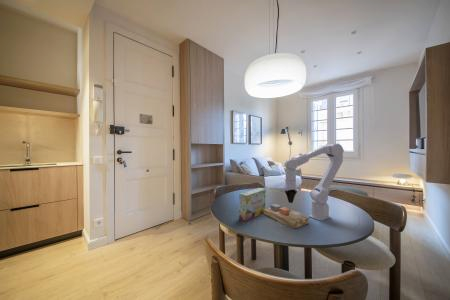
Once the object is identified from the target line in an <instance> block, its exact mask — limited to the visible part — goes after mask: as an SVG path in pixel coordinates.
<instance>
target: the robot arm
mask: <svg viewBox="0 0 450 300" xmlns="http://www.w3.org/2000/svg"><path fill="white" fill-rule="evenodd" d="M344 152H345V150H344V148H343V146H342V145H341V144H340V143H326V144H325V145H321V146H319V147H317V148H315V149H314V150H312V151H309V152H307V153H304V152H302V153H298V155H296V156H292V157H291V158H288V159H286V160H285V163H284V165H283V166H285V167H284V168H285V185H284V186H283V187H281V188H280V192H282V193H285V195H286V198H287V201H288V203H290V204H293V203H294V199H295V197H296V195H297V193H298V190H301V185H297V168H298V167H301V166H302V165H304V164H306V163H309V162H310V161H309V160H310V159H313V158H315V157H317V156H320V155H322V154H325V155H326V156H327V157H328V158H329V160H330V162H329V164H328V166H327V167H326V170H325V172H324V173H323V176H322V178H321V179H320V181H319V182H318V184H317V185H315V186H314V188H313V189H311V190H310V192H309V196H310V198H311V214H308V216H307V217H308V218H312V219H315V220H318V221H321V222H322V221H325V220H327V219H330V218H331V216H330V214H329V213H330V206H329V203H328V200H329V198H328V197H329V194H330V191H329V188H330V186H331V184H332V183H333V181H334V179H335V176H336V175H337V173H338V172H339V169H340V168H341V165H342V164H343V163H344V162H343V157H344V155H343V154H344Z"/></svg>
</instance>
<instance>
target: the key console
mask: <svg viewBox="0 0 450 300" xmlns="http://www.w3.org/2000/svg"><path fill="white" fill-rule="evenodd" d="M281 208H283V207H282V206H281ZM292 211H293V210H292ZM292 211H291V212H292ZM263 214H264V215H265V216H267V217H269V218H272V219H273V220H275V221H277V222H280V223H282V224H283V225H286V226H288V227H290V228H292V229H297V228H300V227H302V226H304V225H305V226H306V225H307V224H309V223H310V217H309V216H305V215H303V214H301V219H298V220H294V219H292V218H290V217H289V215H286V216H285V215H283V214H280V213H279V211H277V212H275V211H273V210H271V207H268V208H265V209H264V213H263Z"/></svg>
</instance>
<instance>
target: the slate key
mask: <svg viewBox="0 0 450 300" xmlns="http://www.w3.org/2000/svg"><path fill="white" fill-rule="evenodd" d="M281 207H282V205H280V204H277V203H274V204H270V208H271V210H273V211H275V212H277V211H279V208H281Z"/></svg>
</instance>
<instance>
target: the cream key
mask: <svg viewBox="0 0 450 300" xmlns="http://www.w3.org/2000/svg"><path fill="white" fill-rule="evenodd" d="M301 215H302V212H299V211H297V210H292V212H289V217H290V218H292V219H294V220H298V219H301Z"/></svg>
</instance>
